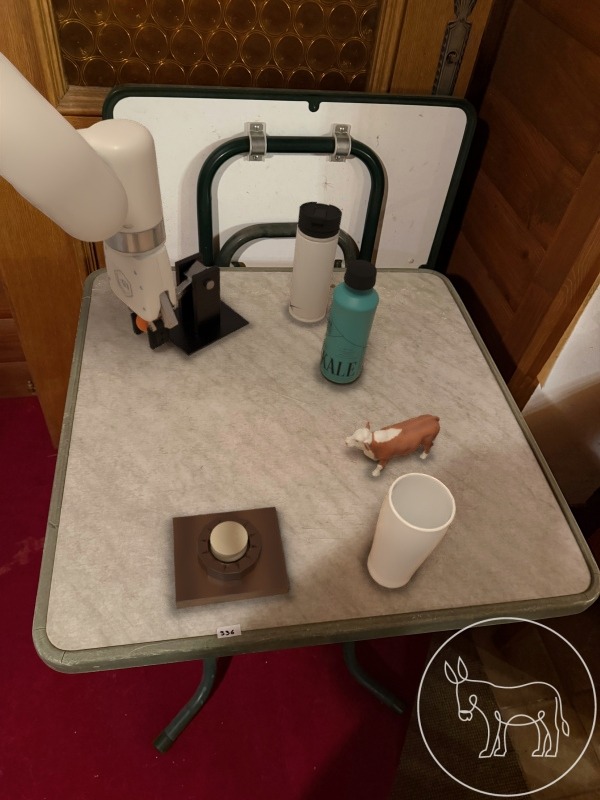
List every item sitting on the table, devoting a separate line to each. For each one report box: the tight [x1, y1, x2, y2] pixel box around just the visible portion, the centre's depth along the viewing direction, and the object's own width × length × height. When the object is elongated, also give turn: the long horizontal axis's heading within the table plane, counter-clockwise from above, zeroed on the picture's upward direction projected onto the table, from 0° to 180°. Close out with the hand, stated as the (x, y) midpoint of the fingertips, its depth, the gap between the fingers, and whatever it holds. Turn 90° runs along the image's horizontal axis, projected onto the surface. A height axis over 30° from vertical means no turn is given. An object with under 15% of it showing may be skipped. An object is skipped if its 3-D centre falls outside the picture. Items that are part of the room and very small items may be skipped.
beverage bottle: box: [319, 259, 380, 384], centre depth 78 cm, size 6×7×20 cm
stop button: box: [210, 521, 248, 562], centre depth 61 cm, size 4×4×2 cm
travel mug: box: [287, 201, 343, 325], centre depth 87 cm, size 6×7×20 cm
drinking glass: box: [366, 472, 457, 589], centre depth 60 cm, size 7×7×15 cm
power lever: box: [136, 261, 208, 333], centre depth 81 cm, size 13×3×3 cm, turn 134°
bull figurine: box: [344, 413, 441, 477], centre depth 73 cm, size 4×13×8 cm, turn 111°
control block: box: [172, 506, 290, 610], centre depth 63 cm, size 12×10×4 cm
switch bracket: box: [159, 251, 250, 357], centre depth 85 cm, size 12×10×12 cm
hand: (152, 336), depth 83 cm, fingers closed on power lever, 3 cm apart
